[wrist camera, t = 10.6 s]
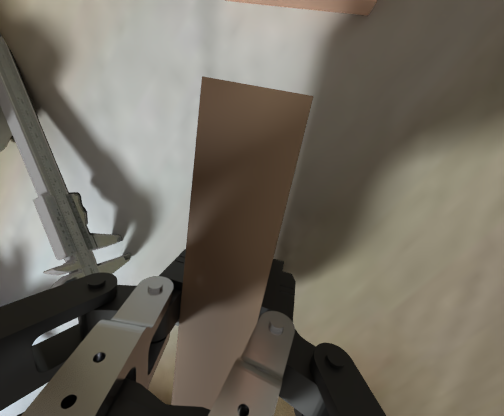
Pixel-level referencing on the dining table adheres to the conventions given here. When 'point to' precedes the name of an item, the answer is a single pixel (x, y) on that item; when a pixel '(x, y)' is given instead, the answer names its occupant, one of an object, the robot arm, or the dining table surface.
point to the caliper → (51, 184)
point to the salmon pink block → (321, 5)
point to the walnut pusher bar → (232, 226)
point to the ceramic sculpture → (4, 131)
